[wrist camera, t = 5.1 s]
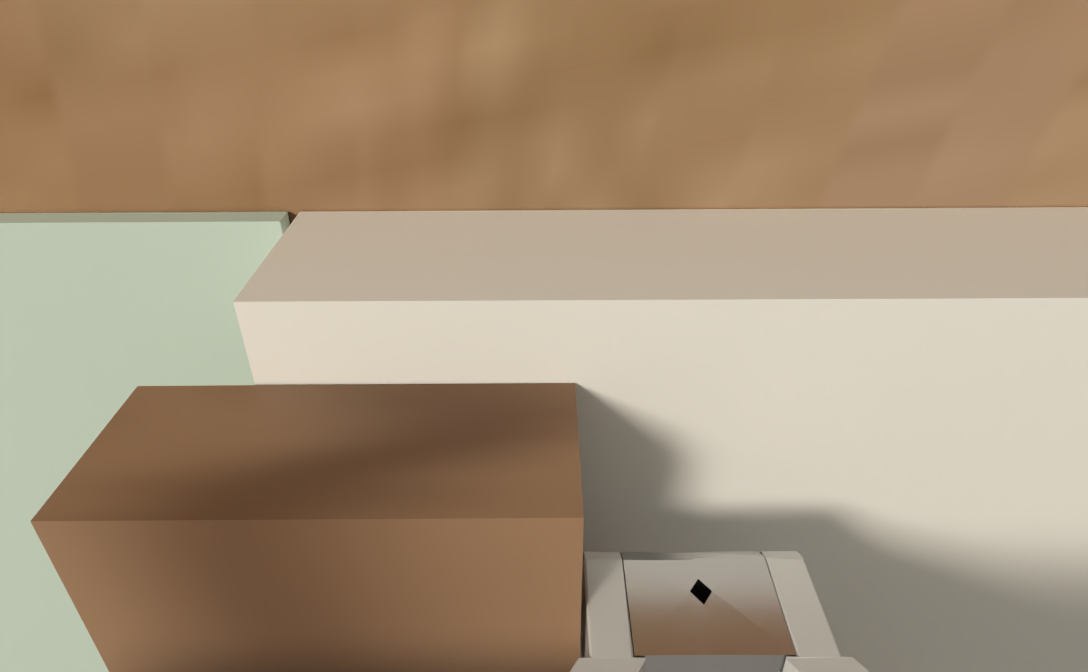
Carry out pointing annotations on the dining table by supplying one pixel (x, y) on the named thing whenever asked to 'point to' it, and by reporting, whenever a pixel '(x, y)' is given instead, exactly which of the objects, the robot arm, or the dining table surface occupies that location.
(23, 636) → the mat
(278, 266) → the white flat block
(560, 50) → the dining table surface
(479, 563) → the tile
